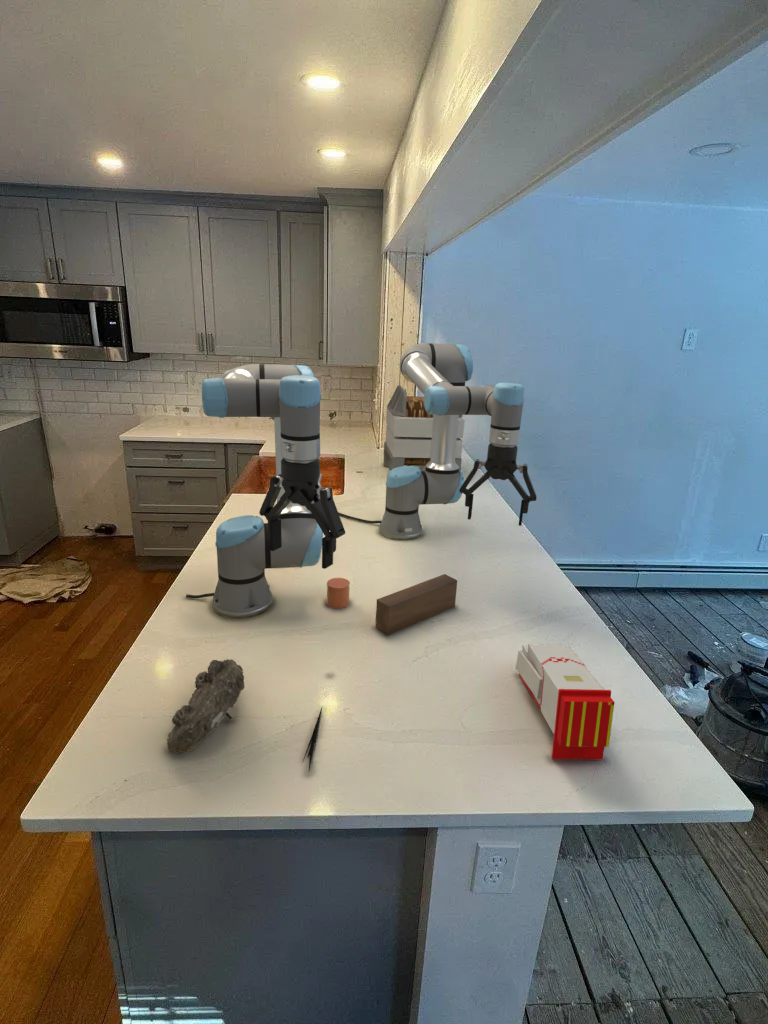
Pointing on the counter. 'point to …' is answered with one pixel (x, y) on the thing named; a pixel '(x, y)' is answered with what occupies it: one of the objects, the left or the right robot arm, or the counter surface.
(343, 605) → the orange clay cylinder
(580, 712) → the toy
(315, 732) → the feather
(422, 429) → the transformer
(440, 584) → the beam
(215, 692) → the fossil
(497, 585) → the counter surface
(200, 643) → the counter surface
